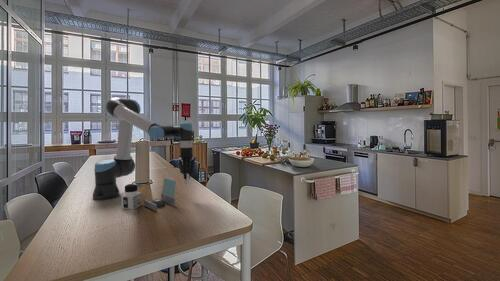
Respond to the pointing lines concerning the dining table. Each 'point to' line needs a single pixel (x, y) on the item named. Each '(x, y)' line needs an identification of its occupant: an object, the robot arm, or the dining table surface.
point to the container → (131, 197)
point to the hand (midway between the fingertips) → (186, 183)
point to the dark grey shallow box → (154, 206)
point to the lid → (169, 188)
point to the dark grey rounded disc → (158, 202)
